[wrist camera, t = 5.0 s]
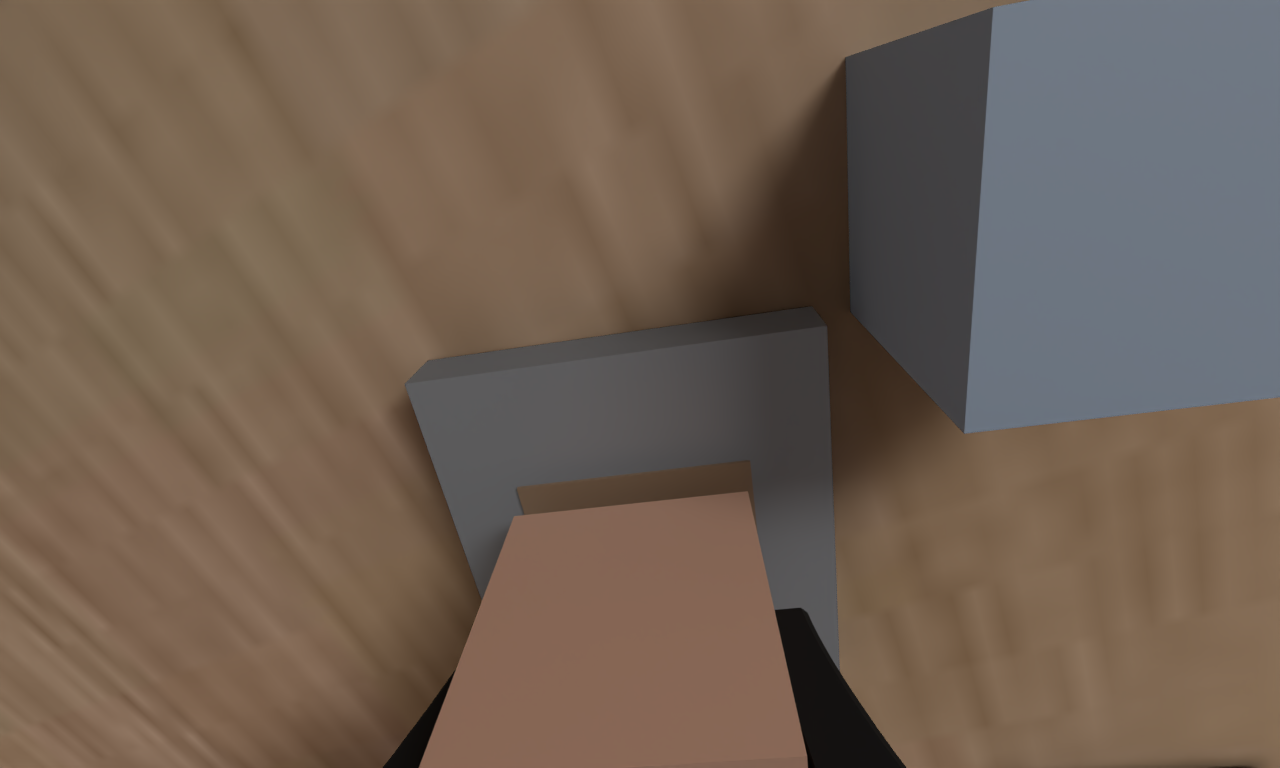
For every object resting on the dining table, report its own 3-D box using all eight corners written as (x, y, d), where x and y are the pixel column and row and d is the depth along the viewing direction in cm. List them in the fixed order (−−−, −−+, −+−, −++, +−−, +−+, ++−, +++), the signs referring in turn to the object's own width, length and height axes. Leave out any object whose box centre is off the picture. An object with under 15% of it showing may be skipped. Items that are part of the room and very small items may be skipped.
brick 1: (764, 663, 13) (820, 966, 8) (562, 679, 13) (508, 974, 9) (747, 490, 11) (807, 755, 6) (513, 516, 11) (413, 780, 7)
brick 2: (1089, 277, 11) (1374, 385, 7) (849, 310, 12) (963, 433, 7) (1130, 5, 9) (1557, -99, 5) (844, 57, 10) (993, 7, 5)
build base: (829, 665, 16) (841, 709, 14) (536, 688, 16) (527, 731, 15) (811, 306, 12) (828, 327, 10) (427, 360, 12) (402, 385, 11)
